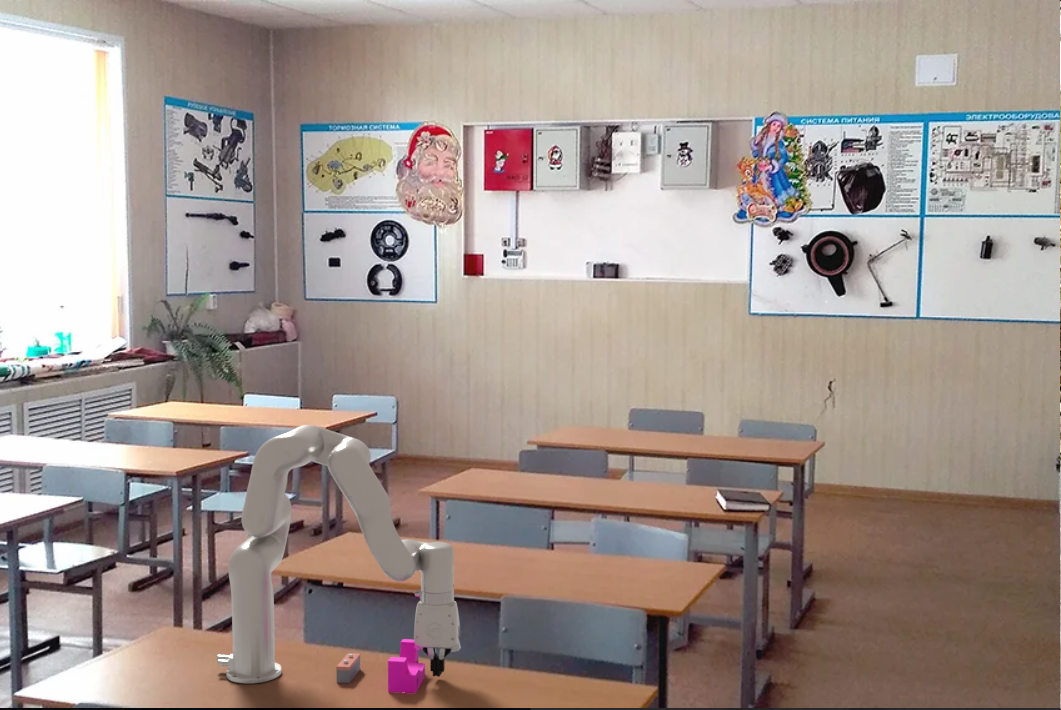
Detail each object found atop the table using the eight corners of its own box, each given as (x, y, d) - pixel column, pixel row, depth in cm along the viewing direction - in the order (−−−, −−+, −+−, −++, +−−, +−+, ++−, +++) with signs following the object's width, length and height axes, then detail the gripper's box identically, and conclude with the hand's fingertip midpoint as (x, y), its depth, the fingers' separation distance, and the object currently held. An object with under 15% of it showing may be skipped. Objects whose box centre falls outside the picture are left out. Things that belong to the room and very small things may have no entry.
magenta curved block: (415, 694, 260) (415, 662, 259) (388, 693, 260) (387, 661, 260) (428, 671, 274) (428, 640, 274) (402, 669, 275) (402, 639, 275)
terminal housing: (336, 682, 266) (336, 663, 266) (348, 668, 275) (347, 650, 275) (349, 683, 266) (349, 664, 265) (360, 669, 275) (360, 651, 274)
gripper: (401, 600, 264) (401, 678, 265) (466, 603, 262) (466, 682, 263) (409, 590, 271) (409, 667, 273) (472, 593, 269) (472, 670, 271)
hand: (437, 674), depth 268 cm, fingers closed
